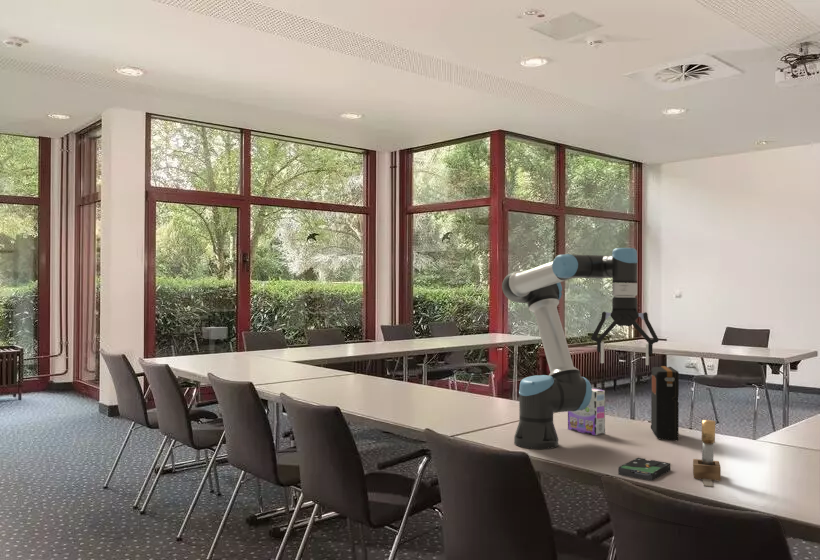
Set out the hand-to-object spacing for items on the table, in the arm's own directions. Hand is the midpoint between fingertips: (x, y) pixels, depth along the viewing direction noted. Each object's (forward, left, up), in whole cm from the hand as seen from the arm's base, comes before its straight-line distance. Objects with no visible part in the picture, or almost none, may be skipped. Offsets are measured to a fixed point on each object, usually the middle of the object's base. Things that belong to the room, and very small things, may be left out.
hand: (624, 363), depth 216 cm
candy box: (-16, +39, -31) cm, 52 cm away
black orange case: (+12, +42, -31) cm, 54 cm away
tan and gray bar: (+24, -10, -30) cm, 40 cm away
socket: (+24, -10, -31) cm, 40 cm away
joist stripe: (+24, -10, -31) cm, 40 cm away
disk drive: (+7, -11, -31) cm, 34 cm away
